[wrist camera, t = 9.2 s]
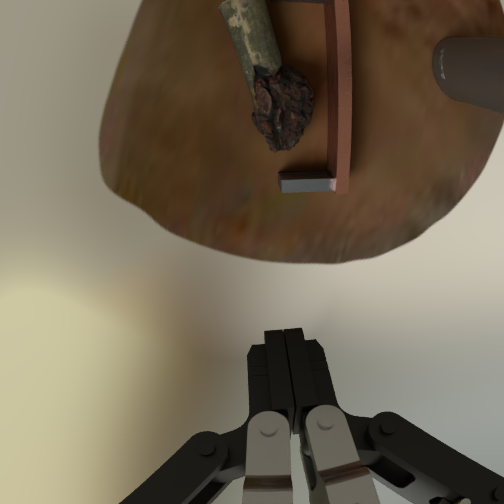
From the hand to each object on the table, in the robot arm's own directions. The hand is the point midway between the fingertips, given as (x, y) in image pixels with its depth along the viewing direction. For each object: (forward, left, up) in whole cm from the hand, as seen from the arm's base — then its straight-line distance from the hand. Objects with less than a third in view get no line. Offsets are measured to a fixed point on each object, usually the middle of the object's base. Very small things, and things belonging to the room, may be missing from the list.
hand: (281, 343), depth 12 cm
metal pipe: (-2, -11, -27) cm, 30 cm away
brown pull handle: (-6, -9, -27) cm, 29 cm away
